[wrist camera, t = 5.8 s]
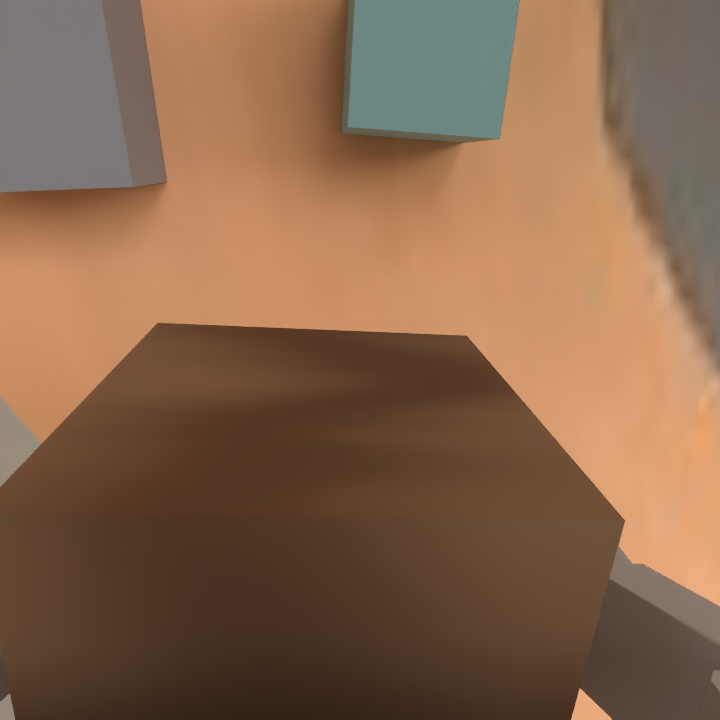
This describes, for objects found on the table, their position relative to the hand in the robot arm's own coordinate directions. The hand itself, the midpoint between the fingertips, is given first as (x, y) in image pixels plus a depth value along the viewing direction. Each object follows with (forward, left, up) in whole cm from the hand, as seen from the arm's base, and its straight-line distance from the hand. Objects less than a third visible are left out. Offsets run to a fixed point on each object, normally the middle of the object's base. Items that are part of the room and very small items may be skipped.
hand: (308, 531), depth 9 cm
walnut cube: (0, 0, -2) cm, 2 cm away
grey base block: (+11, -7, -19) cm, 23 cm away
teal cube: (-4, -9, -19) cm, 22 cm away
